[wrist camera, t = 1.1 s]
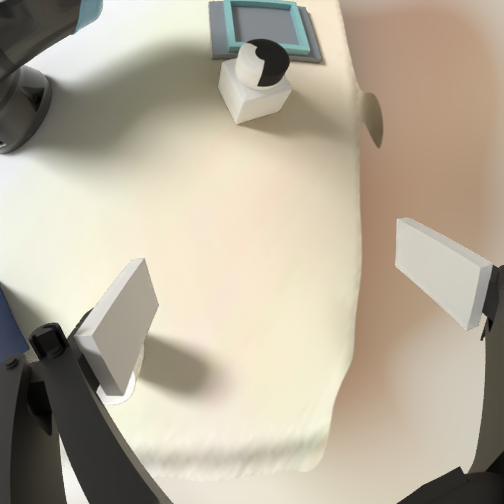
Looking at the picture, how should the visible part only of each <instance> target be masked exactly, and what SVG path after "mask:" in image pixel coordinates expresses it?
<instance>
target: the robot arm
mask: <svg viewBox="0 0 504 504" xmlns="http://www.w3.org/2000/svg"><path fill="white" fill-rule="evenodd" d="M102 8H103V0H0V153H7V152H11V151H13V150H15V149H17V148H18V147H20V146H21V145H23V144H24V143H25V142H26V141H27V140H28V139H29V138H30V137H31V136H32V135H33V134H34V133H35V131H36V130H37V129H38V127H39V126H40V124H41V123H42V121H43V119H44V117H45V115H46V113H47V111H48V108H49V105H50V100H51V86H50V83H49V81H48V80H47V79H46V77H45V76H44V75H43V74H42V73H41V72H40V71H38V70H36V69H33V68H31V67H28V66H25V65H24V64H26V63H27V62H28V61H30V60H31V59H33V58H34V57H35V56H37V55H38V54H40V53H41V52H43V51H44V50H46V49H48V48H49V47H51V46H52V45H54V44H55V43H57V42H59V41H60V40H62V39H64V38H65V37H67V36H69V35H74V34H75V33H76V32H77V31H78V30H80V29H81V28H83V27H85V26H87V25H88V24H90V23H92V22H94V21H95V20H96V19H97V18H98V17H99V16H100V14H101V12H102ZM396 235H397V236H396V262H395V266H396V267H397V268H398V269H399V270H400V271H401V272H403V273H404V274H405V275H406V276H407V277H409V278H410V279H411V280H412V281H413V282H414V283H415V284H416V285H418V286H419V287H420V288H421V289H422V290H423V291H424V292H425V293H426V294H428V295H429V296H430V297H431V298H432V299H433V300H434V301H436V303H437V304H439V305H440V306H441V307H442V308H443V309H444V310H445V311H446V312H447V313H448V314H449V315H450V316H451V317H452V318H454V319H455V321H457V322H458V323H459V324H460V325H461V326H462V327H463V328H464V329H465V330H466V331H467V330H470V329H472V328H474V327H476V326H478V325H479V322H480V319H481V315H482V313H484V314H485V315H486V316H487V320H486V323H485V327H484V330H483V333H482V336H481V341H482V340H483V338H484V337H485V339H486V340H485V341H486V365H485V388H484V400H483V411H482V419H481V427H480V433H479V439H478V445H477V450H476V455H475V459H474V462H473V464H472V466H471V468H470V470H469V472H468V473H467V474H464V473H463V471H462V469H461V468H460V467H458V468H456V469H454V470H452V471H450V472H449V473H447V474H445V475H443V476H441V477H439V478H437V479H435V480H433V481H431V482H429V483H426V484H424V485H422V486H421V487H420V488H418V489H417V490H416V491H414V492H413V493H412V494H410V495H409V496H407V497H406V498H404V499H403V500H401V501H400V502H398V503H397V504H504V265H502V266H500V267H499V268H497V267H496V266H494V265H493V264H492V263H491V262H489V261H487V260H486V259H484V258H482V257H481V256H479V255H477V254H476V253H474V252H472V251H471V250H469V249H467V248H465V247H464V246H462V245H460V244H458V243H457V242H455V241H453V240H451V239H449V238H448V237H446V236H444V235H442V234H440V233H438V232H436V231H435V230H433V229H430V228H429V227H427V226H425V225H423V224H421V223H419V222H417V221H415V220H413V219H411V218H409V217H405V218H398V219H397V234H396ZM158 306H159V304H158V301H157V298H156V295H155V292H154V288H153V285H152V282H151V278H150V275H149V272H148V268H147V265H146V261H145V258H139V259H133V260H130V262H129V263H128V264H127V265H126V267H125V268H124V269H123V270H122V272H121V273H120V274H119V276H118V277H117V278H116V279H115V281H114V282H113V283H112V284H111V286H110V287H109V288H108V290H107V291H106V292H105V294H104V295H103V296H102V298H101V299H100V300H99V302H98V303H97V304H96V306H95V307H94V308H92V309H91V310H90V311H88V312H87V313H86V314H85V315H84V316H83V317H82V319H81V320H80V323H78V324H77V325H76V328H74V330H73V331H72V332H71V334H70V335H69V337H68V338H67V339H66V337H65V335H64V333H63V331H62V329H61V327H60V325H59V324H58V323H48V324H45V325H43V326H41V327H39V328H37V329H36V330H35V331H34V332H33V333H32V334H31V335H30V337H29V342H30V344H31V345H32V347H33V349H34V351H35V353H36V354H37V356H38V358H39V360H40V361H37V362H33V363H28V361H27V360H26V358H25V356H24V355H23V354H20V353H17V354H13V355H10V356H8V358H5V359H4V361H3V362H2V363H1V365H0V504H67V502H66V496H65V489H64V482H63V475H62V466H61V456H60V443H59V434H60V437H61V440H62V443H63V445H64V448H65V451H66V453H67V456H68V458H69V461H70V463H71V466H72V468H73V470H74V472H75V475H76V477H77V479H78V481H79V484H80V486H81V488H82V490H83V492H84V494H85V496H86V498H87V500H88V502H89V504H173V503H172V502H171V500H170V499H169V498H168V497H167V496H166V495H165V493H164V492H163V491H162V490H161V488H160V487H159V486H158V485H157V483H156V482H155V481H154V480H153V478H152V477H151V476H150V474H149V473H148V472H147V470H146V469H145V468H144V466H143V465H142V464H141V462H140V461H139V459H138V458H137V457H136V455H135V454H134V452H133V451H132V449H131V448H130V446H129V445H128V443H127V442H126V440H125V439H124V437H123V436H122V434H121V433H120V431H119V430H118V428H117V426H116V425H115V423H114V421H113V420H112V418H111V416H110V415H109V413H108V411H107V409H106V408H105V406H104V404H103V402H102V401H101V399H100V397H99V396H98V394H97V389H98V387H99V385H100V386H101V388H102V389H103V391H104V393H105V394H106V396H124V394H125V392H126V389H127V386H128V383H129V380H130V378H131V375H132V372H133V369H134V367H135V364H136V361H137V359H138V356H139V353H140V351H141V348H142V346H143V343H144V341H145V338H146V335H147V333H148V330H149V328H150V325H151V323H152V320H153V318H154V316H155V313H156V311H157V308H158Z"/></svg>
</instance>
